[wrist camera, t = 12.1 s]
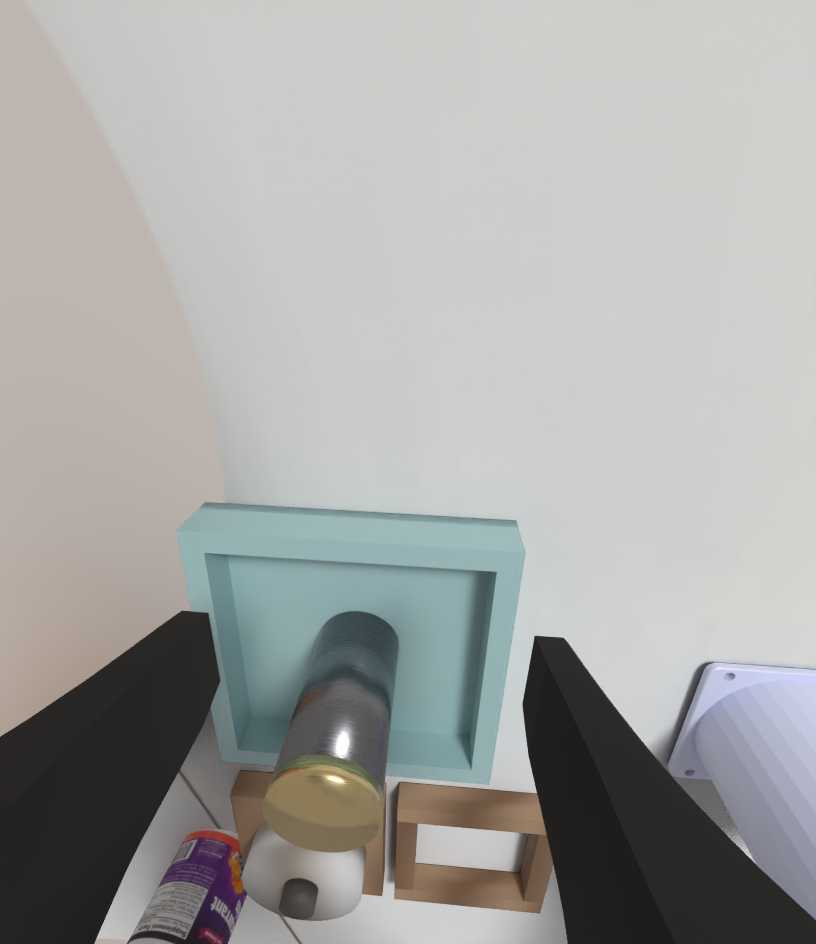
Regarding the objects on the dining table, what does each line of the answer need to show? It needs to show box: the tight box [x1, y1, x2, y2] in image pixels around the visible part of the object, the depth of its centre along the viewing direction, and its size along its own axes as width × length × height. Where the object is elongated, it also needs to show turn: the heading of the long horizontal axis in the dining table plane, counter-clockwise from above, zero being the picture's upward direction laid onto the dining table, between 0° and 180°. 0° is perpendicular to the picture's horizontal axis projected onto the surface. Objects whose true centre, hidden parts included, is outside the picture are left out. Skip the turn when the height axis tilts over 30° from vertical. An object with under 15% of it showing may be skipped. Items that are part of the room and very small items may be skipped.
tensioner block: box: [230, 770, 553, 921], centre depth 28 cm, size 19×9×4 cm, turn 88°
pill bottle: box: [127, 828, 247, 944], centre depth 28 cm, size 5×5×10 cm
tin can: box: [263, 611, 399, 853], centre depth 19 cm, size 4×4×8 cm
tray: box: [176, 502, 525, 785], centre depth 22 cm, size 14×14×2 cm
